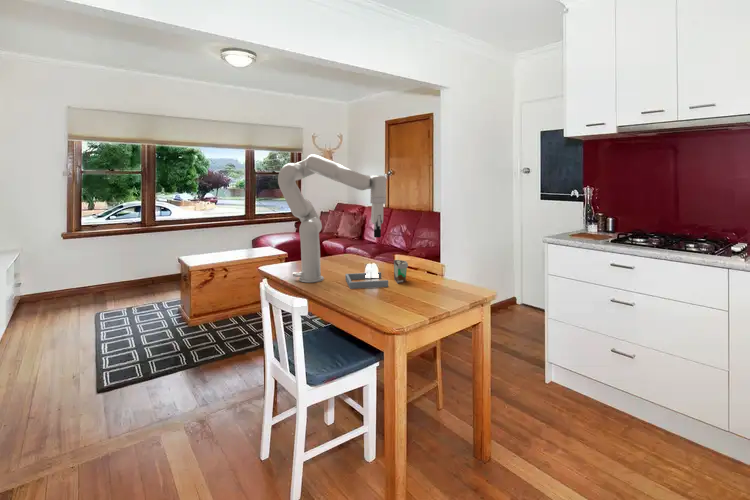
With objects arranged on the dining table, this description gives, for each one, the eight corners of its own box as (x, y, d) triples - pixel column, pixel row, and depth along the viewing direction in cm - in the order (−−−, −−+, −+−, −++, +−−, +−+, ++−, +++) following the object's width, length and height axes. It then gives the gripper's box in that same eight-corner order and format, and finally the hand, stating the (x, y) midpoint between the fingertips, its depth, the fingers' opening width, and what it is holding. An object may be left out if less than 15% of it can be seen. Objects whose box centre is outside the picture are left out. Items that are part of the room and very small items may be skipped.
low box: (349, 288, 199) (349, 282, 198) (345, 279, 217) (345, 273, 216) (388, 286, 202) (388, 280, 202) (380, 277, 220) (380, 272, 219)
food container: (410, 284, 207) (410, 264, 205) (398, 284, 206) (398, 264, 204) (405, 278, 219) (405, 259, 217) (393, 278, 218) (393, 259, 216)
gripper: (368, 199, 215) (367, 235, 218) (372, 201, 200) (372, 239, 203) (382, 199, 216) (382, 235, 219) (388, 201, 201) (387, 239, 204)
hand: (377, 237), depth 211 cm, fingers closed
